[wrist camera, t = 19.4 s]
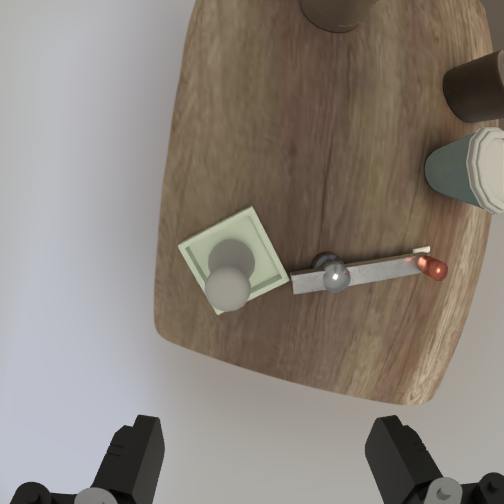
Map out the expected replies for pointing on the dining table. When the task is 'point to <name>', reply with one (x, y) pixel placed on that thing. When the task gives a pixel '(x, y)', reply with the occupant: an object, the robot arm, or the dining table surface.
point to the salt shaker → (229, 275)
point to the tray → (243, 230)
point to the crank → (365, 272)
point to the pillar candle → (477, 88)
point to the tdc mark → (421, 249)
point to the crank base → (323, 257)
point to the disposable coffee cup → (471, 169)
